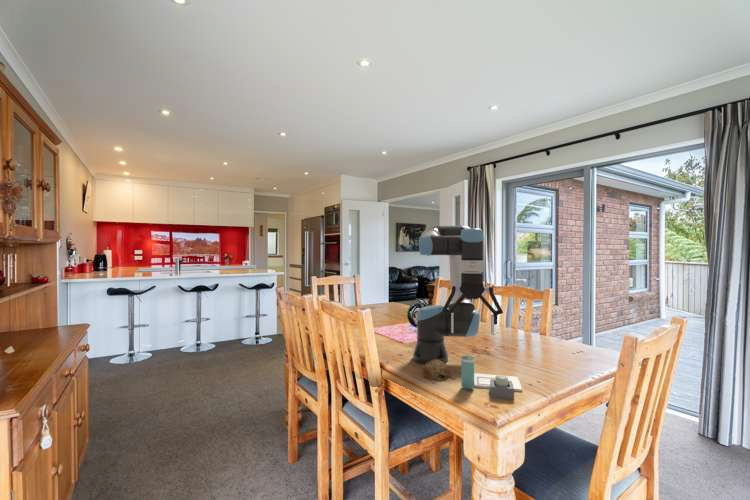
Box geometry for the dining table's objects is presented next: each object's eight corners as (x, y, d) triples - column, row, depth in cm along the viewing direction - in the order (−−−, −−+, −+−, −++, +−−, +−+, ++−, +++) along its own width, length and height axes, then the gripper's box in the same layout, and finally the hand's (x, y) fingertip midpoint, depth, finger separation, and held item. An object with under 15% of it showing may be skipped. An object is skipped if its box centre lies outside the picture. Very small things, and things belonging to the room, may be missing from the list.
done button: (495, 391, 116) (495, 379, 116) (495, 386, 120) (494, 374, 120) (508, 392, 115) (508, 380, 115) (507, 387, 119) (507, 376, 119)
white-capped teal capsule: (461, 390, 121) (461, 359, 121) (461, 385, 125) (461, 355, 125) (474, 391, 120) (474, 360, 120) (474, 386, 124) (474, 356, 124)
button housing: (491, 397, 115) (491, 386, 115) (490, 389, 122) (490, 379, 122) (514, 399, 114) (514, 388, 113) (511, 391, 120) (511, 381, 120)
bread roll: (428, 390, 131) (433, 373, 127) (416, 370, 139) (420, 354, 136) (451, 385, 134) (456, 369, 131) (437, 367, 143) (442, 351, 140)
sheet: (473, 387, 124) (473, 384, 124) (473, 375, 136) (473, 372, 136) (522, 391, 120) (522, 389, 120) (517, 379, 131) (517, 376, 131)
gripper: (435, 272, 123) (435, 333, 123) (511, 273, 117) (511, 337, 117) (436, 271, 130) (436, 328, 130) (507, 272, 125) (507, 332, 125)
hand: (472, 332), depth 124 cm, fingers open, 13 cm apart
